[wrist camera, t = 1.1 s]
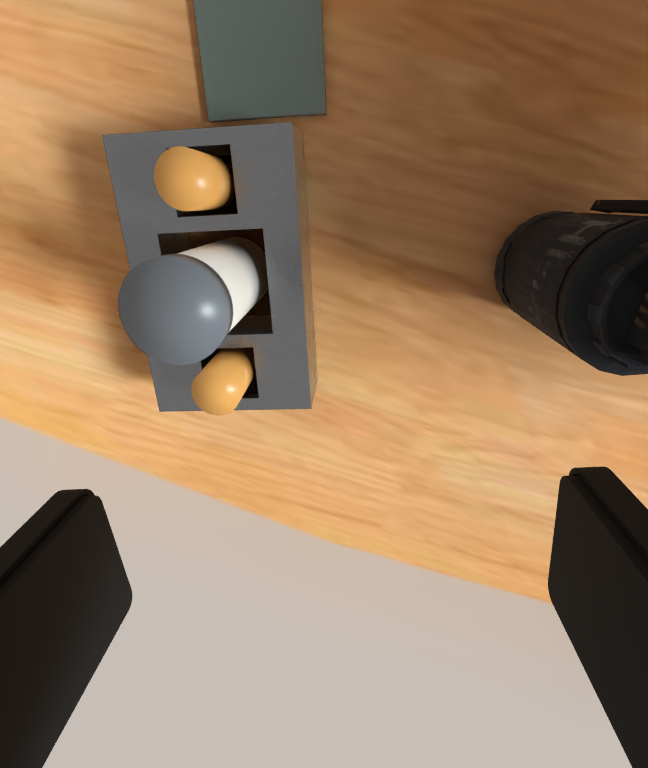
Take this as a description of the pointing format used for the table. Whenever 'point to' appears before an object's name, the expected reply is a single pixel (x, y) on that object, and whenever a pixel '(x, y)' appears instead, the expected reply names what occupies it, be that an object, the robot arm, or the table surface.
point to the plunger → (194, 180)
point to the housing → (255, 211)
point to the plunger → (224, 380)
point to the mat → (261, 58)
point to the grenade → (583, 282)
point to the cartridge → (191, 298)
